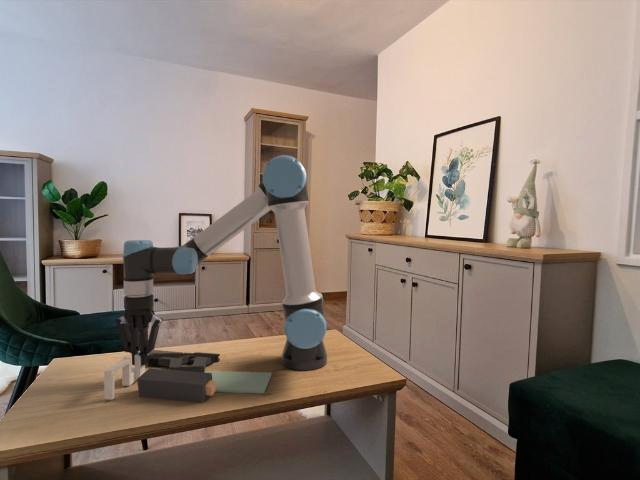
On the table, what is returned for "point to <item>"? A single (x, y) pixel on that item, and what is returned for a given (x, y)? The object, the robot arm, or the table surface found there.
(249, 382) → the mat
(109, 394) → the white arch
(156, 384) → the dark grey rectangular bar
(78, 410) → the table surface
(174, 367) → the pistol
